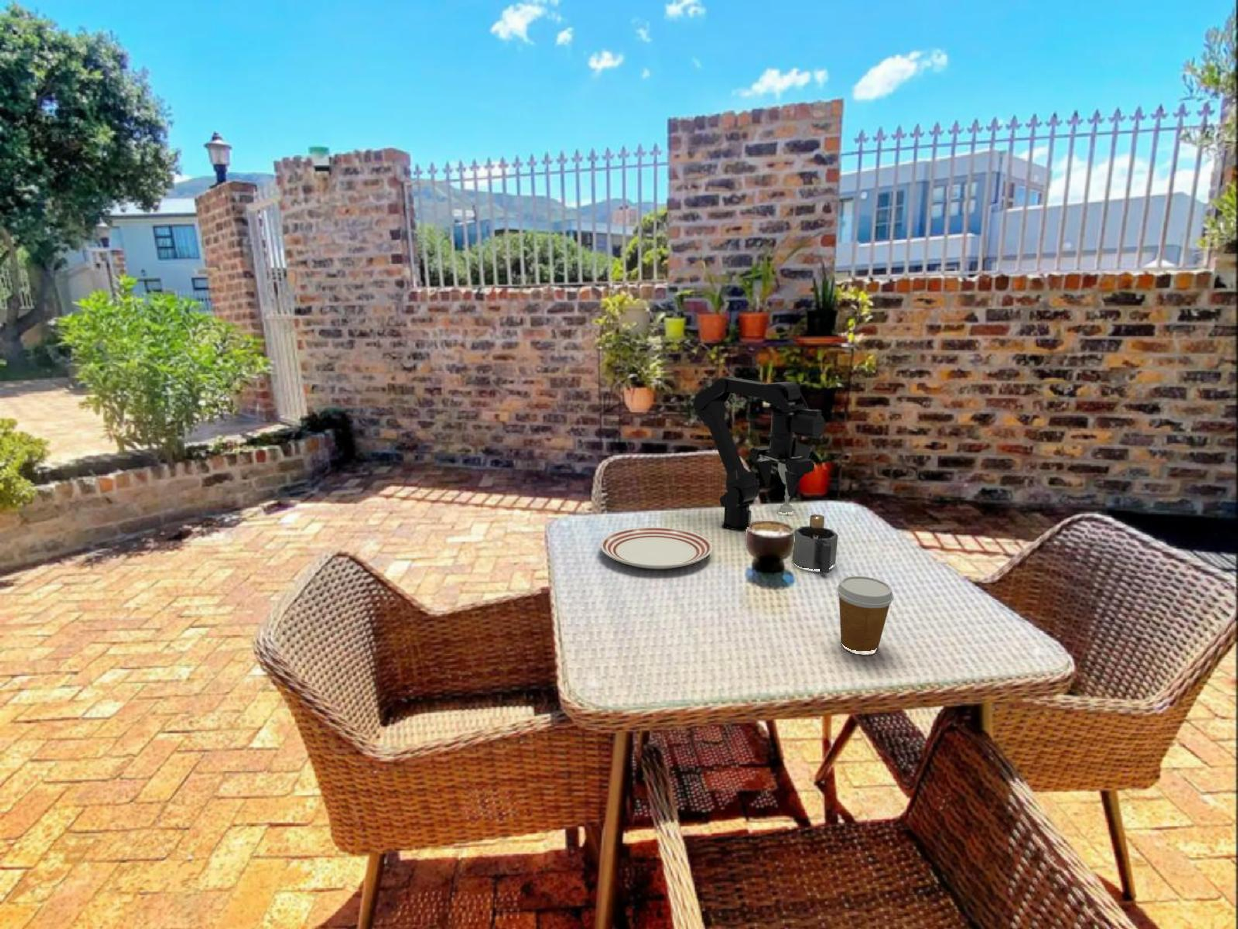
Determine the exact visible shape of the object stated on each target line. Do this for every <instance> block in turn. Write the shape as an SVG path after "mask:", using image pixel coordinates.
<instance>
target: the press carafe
mask: <svg viewBox="0 0 1238 929" xmlns="http://www.w3.org/2000/svg"><path fill="white" fill-rule="evenodd" d="M809 526H810V525H806V526H805V525H804V526H800V527H798V528H797V529H794V531H793V532H794V533H793V534H794V535H793V537H794V536H795V542H794V541H793V546H794V550H793V549H792V561H794V563H795V564H796V565H797V566H799V567H802V568H809V569H813V570H814V569H820V572H819V573H821V574H829V573H830V571H829V568H830V567H831V566H832V565H834V564H835V565H836V560H837V548H838V540H839V539H838V538H839V535H838V534H837V532H835V531H834V530H833V529H830V528H828V527H827V528H826V527H824V530H823V534H822V535H818V539H814V538H813V537H814V535H813V534H810V533H809ZM792 561H791V562H792ZM794 563H793V564H794Z"/></svg>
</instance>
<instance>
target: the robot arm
mask: <svg viewBox="0 0 1238 929" xmlns="http://www.w3.org/2000/svg"><path fill="white" fill-rule="evenodd" d="M732 394H735V395H740V396H746V397H751V398H756V399H760V400H762V401H763V402H765V403H767V404H768V405H769V406H768V407H766V408H765V410H764V413H765V414H770V415H771V421H770V422H771V423H770V425H771V426H770V434H768V435H766V440H768V441H770V442H769V446H766V445H762V446H754V447H752V448H750V450H748V452H749V454H748V459H751V462H752V463H753V464H754V466H755V469H756V470H757V472H758V474H759V476H760V479H761V481H762V483H763V486H764V488H769V486H770V483H771V476H772V466H774V465H775V464H774V463H775V462H777V463H778V462H779V463H782V464H785V465H786V469H787V471H785V478H786V484H785V486H786V485H787V492H788V496H790V498H791V497H793V496H794V493H795V492H796V490H797V487H798V485H799V483H800V481H802V480H801V479H802V478H803V477H804V476H806V475H808V474H810V473H812V472H815V461H814V460H812V459H810V458H809V456H810V455H811V450H812V446H809V445H806V444H803V443H800V442H799V439H798V436H801V437H806V438H813V439H816V440H817V439H820V438H821V437H822V436H823V435H824V432H825V429H826V422H825V418H824V416H823V415H822V409H809V406H808V404H807V401H806V400H805V398H804V396H803V395H802V392H801V389H800V387H799V384H798V383H796V382H795V381H782V382H781V381H780V382H768V383H767V382H763V381H756V380H749V379H743V378H738V377H734V376H723V377H720V378H718V379H717V380H716V381H715V382H714V383H713V384H712V385H710V386H708V387H707V388H706V389H704V390H703V391H701V393H697V395H696V396H695V397H694V399H693V402H692V408H693V410H694V412H695V413H696V415H697V417H698V419H699V420H701V421H702V422H703V423H704V424H705V425H706V426H707V428H708V429H709V432H710V435H711V438H712V439H713V442H714V443H713V444H714V445H715V447H716V450H717V452H718V455H719V458H720V460H721V462H722V464H723V468H724V469H725V470H724V471H725V473H726V478H725V480H726V481H725V488H726V491H727V492H725V493H724V494H723V495H721V497H719V502H720V507H723V509H724V511H723V512H724V514H723V524H722V525H721V528H723V527H728V528H727V529H729V528H733V529H732V530H735V529H737V530H736V531H742V532H744V531H746V530H747V529H746V527H747V526H748V525H749V524H750V523H751V522H752V521H751V520H752V510H751V509H750V506H751V505H752V504H754V503H755V500H756V499H757V497H758V496H759V493H760V486H759V485H760V484H761V483H760V482H759V481H758V478H757V476H756V473H755V471H754V470H751V471H748V469H746V468H745V466H744V464H743V462H742V460H741V457H740V455H739V451H738V449H737V447H736V444H735V442H734V439H733V437H732V436H733V435H731V432H730V430H729V427H728V424H727V422H726V413H727V408H726V404H725V403H727V401H728V400H729V399H730V398H731V395H732ZM798 456H802V457H801V458H793V459H792V457H798ZM751 524H752V523H751ZM751 524H750V525H751ZM750 525H749V526H750ZM747 528H748V527H747ZM745 529H746V530H745Z"/></svg>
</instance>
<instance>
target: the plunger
mask: <svg viewBox="0 0 1238 929" xmlns="http://www.w3.org/2000/svg"><path fill="white" fill-rule="evenodd" d="M825 519H826V518H825V516H824V515H821V514H817V513H816V514H815V513H814V514H811V515H810V516H809V525H808V526H809V533H810V534H813V535H814V537H813V538H814V539H818V535H822V534H823V530H824V528H825Z"/></svg>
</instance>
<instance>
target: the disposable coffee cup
mask: <svg viewBox="0 0 1238 929" xmlns="http://www.w3.org/2000/svg"><path fill="white" fill-rule="evenodd" d="M836 592H837V595H838V600H839V601H838V603H839V606H838V607H839V624H840V627H839V628H840V631H839V632H840V644H841V643H842V644H843V645H844V646H845V647H847V648H849V649H851V650H856V651H871V650H875V649H876V648H878V649H879V646H880V643H881V640H882V635H883V632H884V628H885V623H886V620H887V617H888V613H889V609H890V606H891V604H892V602H893V601H894V598H895V595H894V594H893V590H892V586H890V585H889V584H888V583H887V582H885V581H883V580H881V579H878V578H874V577H870V576H865V575H852V576H845V577H843V578H842V579H840V582H839V584H838V585H837V586H836Z"/></svg>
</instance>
